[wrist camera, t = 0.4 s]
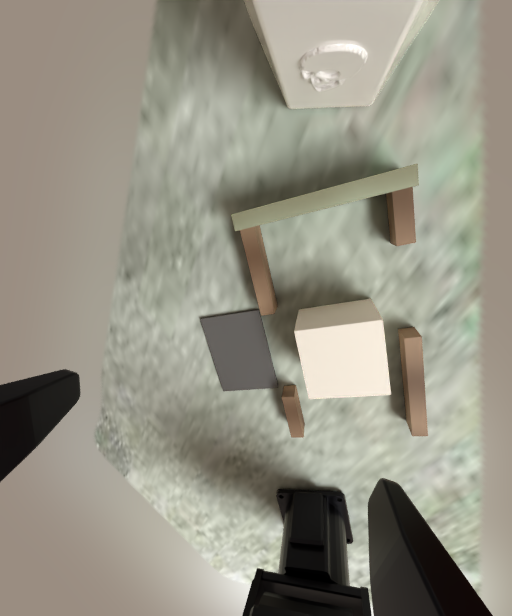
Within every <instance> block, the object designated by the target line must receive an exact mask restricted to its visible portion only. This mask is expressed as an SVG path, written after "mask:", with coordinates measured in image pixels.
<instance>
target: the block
mask: <svg viewBox="0 0 512 616" xmlns="http://www.w3.org/2000/svg"><path fill="white" fill-rule="evenodd" d="M294 333H295V338H296V342H297V347H298V352H299V356H300V361H301V365H302V370H303V374H304V379H305V384H306V388H307V393H308V397H309V399H324V398H342V397H360V396H379V395H391V389H390V380H389V371H388V362H387V353H386V344H385V335H384V326H383V319H382V317H381V316H380V314H379V312H378V310H377V308H376V307H375V305H374V303H373V301H372V299H364V300H358V301H351V302H344V303H338V304H331V305H325V306H318V307H312V308H305V309H299V311H298V316H297V320H296V325H295V329H294Z"/></svg>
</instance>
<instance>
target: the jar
mask: <svg viewBox="0 0 512 616" xmlns="http://www.w3.org/2000/svg"><path fill="white" fill-rule="evenodd" d="M438 2H439V0H244V3H245V5H246V8H247V11H248V14H249V16H250V19H251V22H252V24H253V27H254V29H255V32H256V34H257V36H258V39H259V41H260V43H261V46H262V48H263V50H264V53H265V55H266V57H267V60H268V62H269V65H270V67H271V69H272V72H273V74H274V76H275V79H276V81H277V83H278V86H279V88H280V90H281V93H282V95H283V97H284V100H285V102H286V104H287V107H288V108H290V109H306V108H331V107H356V106H370V105H371V104H373V102H374V101H375V99H376V98H377V96H378V95H379V93H380V92H381V90H382V89H383V87H384V86H385V84H386V82H387V81H388V79H389V78H390V76H391V75H392V73H393V72H394V70H395V69H396V67H397V66H398V64H399V62H400V61H401V59H402V58H403V56H404V55H405V53H406V52H407V50H408V49H409V47H410V46H411V44H412V42H413V41H414V39H415V38H416V36H417V35H418V33H419V32H420V30H421V29H422V27H423V26H424V24H425V22H426V21H427V19H428V18H429V16H430V15H431V13H432V12H433V10H434V9H435V7H436V5H437V3H438Z"/></svg>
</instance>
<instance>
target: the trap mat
mask: <svg viewBox="0 0 512 616" xmlns="http://www.w3.org/2000/svg"><path fill="white" fill-rule="evenodd" d="M200 320H201V323H202V326H203V329H204V333H205V336H206V339H207V342H208V345H209V348H210V351H211V354H212V357H213V360H214V363H215V367H216V370H217V373H218V376H219V379H220V382H221V385H222V388H223V391H235V390H250V389H265V388H278V383H277V379H276V375H275V371H274V367H273V363H272V359H271V355H270V351H269V347H268V343H267V339H266V335H265V331H264V327H263V323H262V319H261V315H260V311H259V309H258V310H252V311H245V312H239V313H232V314H226V315H220V316H213V317H207V318H201V319H200Z"/></svg>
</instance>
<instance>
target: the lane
mask: <svg viewBox="0 0 512 616" xmlns="http://www.w3.org/2000/svg"><path fill="white" fill-rule="evenodd" d="M417 185H419V182H418V164H414V165H410V166H407V167H403V168H399V169H396V170H392V171H388V172H385V173H381V174H377V175H374V176H370V177H366V178H363V179H359V180H355V181H352V182H348V183H344V184H341V185H337V186H333V187H330V188H326V189H322V190H319V191H315V192H311V193H308V194H304V195H300V196H297V197H293V198H290V199H286V200H282V201H279V202H275V203H271V204H268V205H264V206H260V207H257V208H253V209H249V210H246V211H242V212H238V213H235V214H231V217H232V221H233V225H234V229H235V231H239V230H240V233H241V237H242V241H243V245H244V249H245V253H246V257H247V261H248V265H249V269H250V273H251V277H252V281H253V285H254V289H255V293H256V297H257V301H258V305H259V309H260V313H261V316H262V315H268V314H275V312H276V310H277V307H278V305H277V300H276V296H275V291H274V287H273V283H272V278H271V274H270V269H269V265H268V261H267V256H266V252H265V247H264V243H263V239H262V234H261V230H260V225H262V224H266V223H270V222H274V221H278V220H282V219H286V218H290V217H294V216H298V215H302V214H306V213H310V212H314V211H318V210H322V209H326V208H330V207H334V206H338V205H342V204H346V203H350V202H354V201H358V200H361V199H365V198H369V197H373V196H377V195H381V194H385V193H386V198H387V209H388V220H389V232H390V243H391V244H393V245H395V246H400V245H405V244H410V243H415V242H416V236H415V219H414V203H413V186H417ZM398 333H399V344H400V355H401V366H402V377H403V389H404V400H405V411H406V421H407V424H408V426H409V429H410V431H411V434H412V436H428V431H427V414H426V398H425V382H424V366H423V349H422V336H421V335H420V334H419V333H418V331H417V330H416V329H415V327H411V328H402V329H398ZM282 401H283V405H284V409H285V413H286V417H287V421H288V425H289V429H290V433H291V437H304V425H305V423H304V419H303V415H302V410H301V406H300V401H299V397H298V393H297V388H296V385H289V386H284V388H283V393H282Z"/></svg>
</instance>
